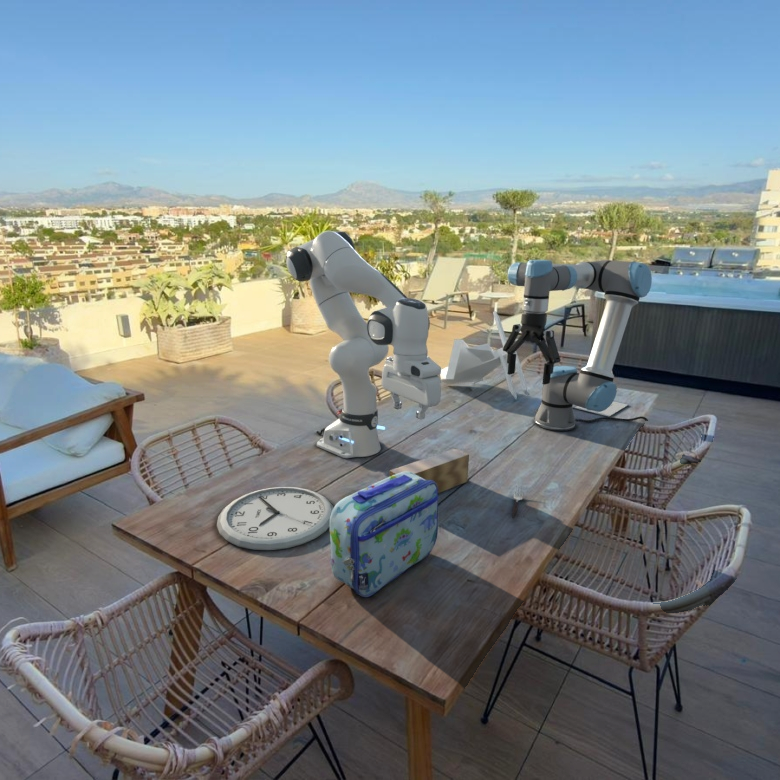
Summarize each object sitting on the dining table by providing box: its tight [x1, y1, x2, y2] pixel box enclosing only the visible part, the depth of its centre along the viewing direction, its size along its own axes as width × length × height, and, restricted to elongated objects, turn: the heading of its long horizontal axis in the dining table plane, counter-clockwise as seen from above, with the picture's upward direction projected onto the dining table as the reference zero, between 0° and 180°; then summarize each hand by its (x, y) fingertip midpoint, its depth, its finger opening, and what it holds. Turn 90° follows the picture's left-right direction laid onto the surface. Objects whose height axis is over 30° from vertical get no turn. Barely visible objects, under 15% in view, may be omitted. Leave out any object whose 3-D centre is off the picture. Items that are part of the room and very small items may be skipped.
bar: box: [389, 447, 470, 494], centre depth 151 cm, size 26×6×9 cm, turn 128°
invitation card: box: [573, 400, 629, 417], centre depth 226 cm, size 21×1×15 cm
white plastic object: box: [439, 310, 531, 400], centre depth 245 cm, size 37×45×31 cm
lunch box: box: [329, 471, 439, 598], centre depth 113 cm, size 26×11×21 cm, turn 134°
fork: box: [511, 486, 525, 519], centre depth 144 cm, size 3×16×2 cm, turn 160°
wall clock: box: [216, 486, 334, 551], centre depth 136 cm, size 30×2×30 cm
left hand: (408, 413), depth 139 cm, fingers open, 8 cm apart
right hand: (527, 378), depth 166 cm, fingers open, 13 cm apart
